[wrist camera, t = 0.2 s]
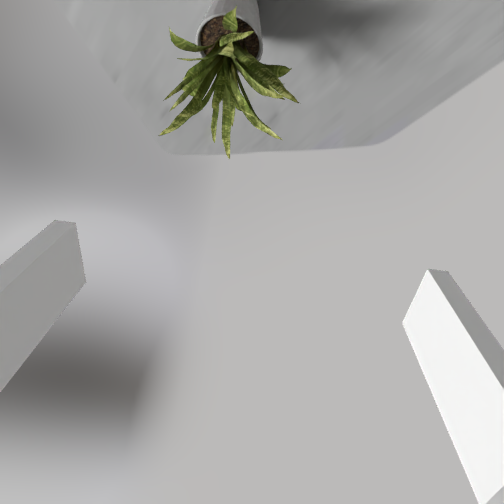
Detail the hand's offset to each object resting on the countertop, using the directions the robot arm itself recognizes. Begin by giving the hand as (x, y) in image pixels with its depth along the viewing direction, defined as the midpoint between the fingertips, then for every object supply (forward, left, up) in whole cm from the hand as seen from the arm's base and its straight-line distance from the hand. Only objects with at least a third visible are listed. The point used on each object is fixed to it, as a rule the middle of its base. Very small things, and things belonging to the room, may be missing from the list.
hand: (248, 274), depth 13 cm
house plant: (+10, -11, -36) cm, 39 cm away
